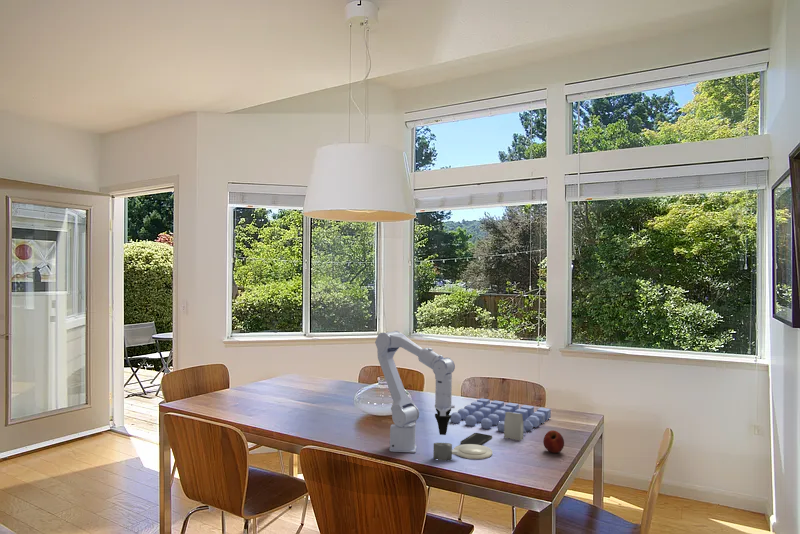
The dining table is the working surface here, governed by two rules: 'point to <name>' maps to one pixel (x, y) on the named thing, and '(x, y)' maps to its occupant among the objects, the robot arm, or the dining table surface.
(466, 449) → the plate
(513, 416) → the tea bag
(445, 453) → the connector
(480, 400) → the blocks
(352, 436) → the dining table surface
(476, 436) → the phone
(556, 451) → the apple
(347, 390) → the dining table surface
